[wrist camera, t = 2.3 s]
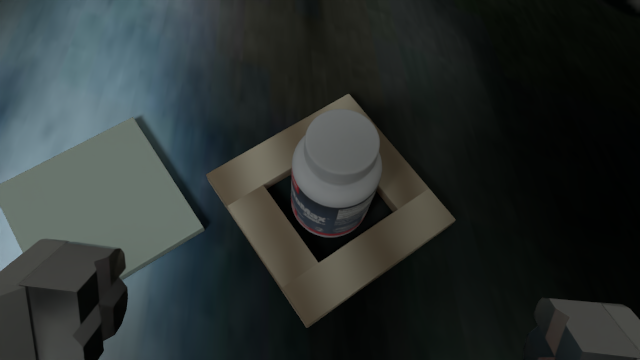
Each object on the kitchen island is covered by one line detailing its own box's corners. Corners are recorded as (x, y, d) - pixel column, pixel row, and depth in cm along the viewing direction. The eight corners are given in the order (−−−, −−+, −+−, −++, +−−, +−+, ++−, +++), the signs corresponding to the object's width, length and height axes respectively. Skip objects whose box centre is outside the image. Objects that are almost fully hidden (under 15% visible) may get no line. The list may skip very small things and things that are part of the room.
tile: (58, 318, 30) (53, 316, 29) (-4, 192, 33) (-9, 188, 32) (204, 230, 33) (203, 227, 32) (135, 121, 36) (132, 117, 35)
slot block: (306, 328, 30) (307, 325, 29) (208, 180, 34) (206, 174, 33) (451, 224, 34) (455, 219, 33) (347, 101, 37) (348, 93, 37)
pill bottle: (276, 190, 34) (273, 123, 26) (339, 156, 35) (354, 82, 27) (317, 254, 32) (327, 202, 24) (382, 215, 34) (411, 154, 26)
